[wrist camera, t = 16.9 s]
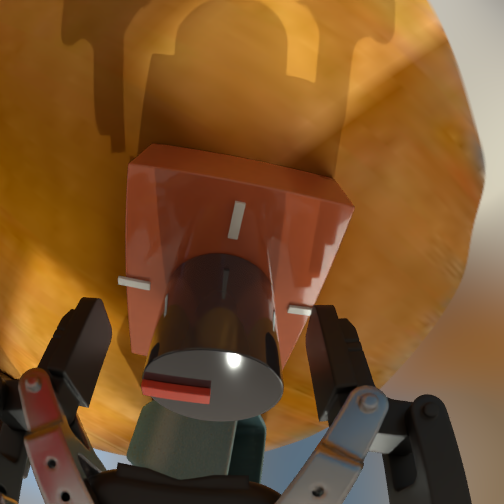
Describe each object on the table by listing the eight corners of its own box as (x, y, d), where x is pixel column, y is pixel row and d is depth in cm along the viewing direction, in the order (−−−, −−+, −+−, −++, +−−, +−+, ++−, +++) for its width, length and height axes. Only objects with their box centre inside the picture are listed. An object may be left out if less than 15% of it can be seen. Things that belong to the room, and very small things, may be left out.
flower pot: (160, 500, 20) (258, 513, 18) (101, 470, 15) (223, 496, 13) (179, 423, 27) (267, 426, 25) (135, 375, 22) (242, 377, 20)
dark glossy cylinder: (284, 260, 12) (302, 364, 8) (263, 338, 14) (268, 432, 10) (166, 246, 11) (130, 346, 7) (167, 327, 14) (148, 420, 9)
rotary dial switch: (280, 335, 18) (285, 378, 16) (138, 313, 17) (125, 354, 15) (340, 180, 13) (364, 211, 10) (145, 141, 12) (117, 163, 9)
